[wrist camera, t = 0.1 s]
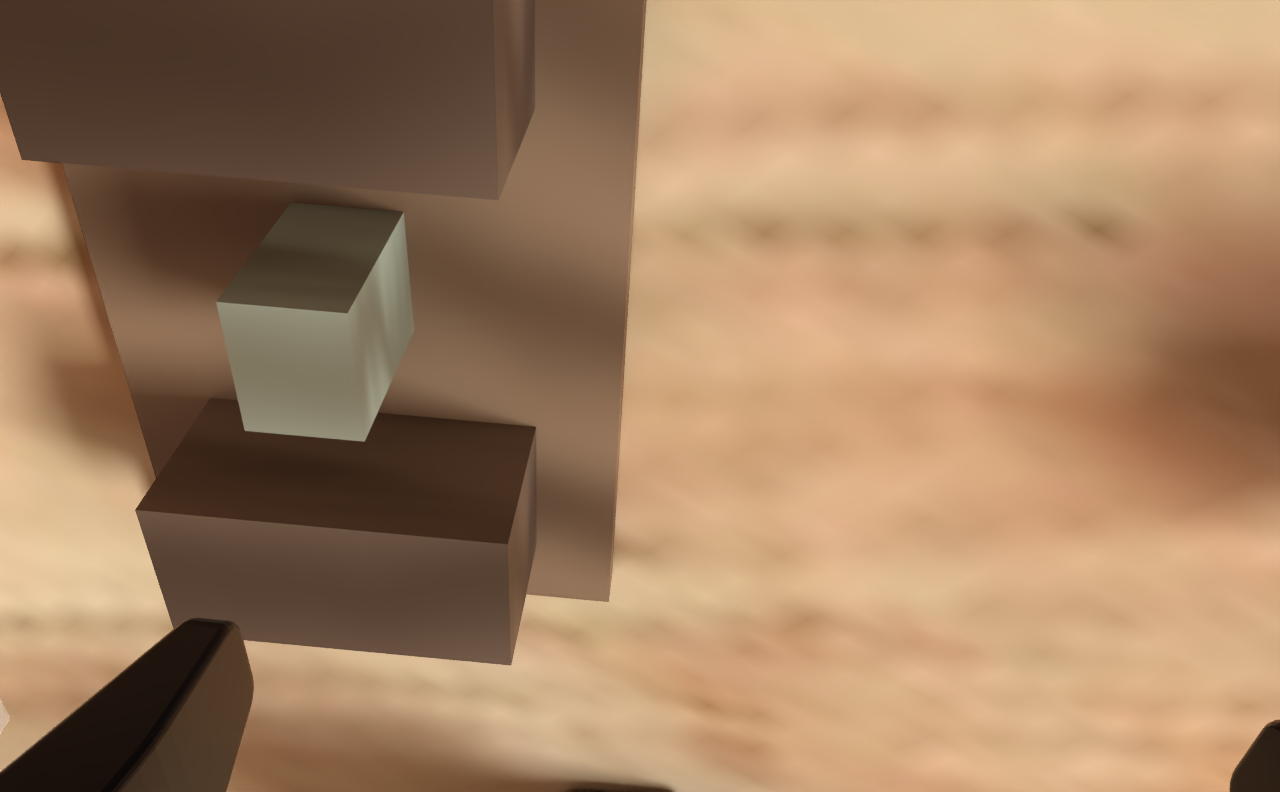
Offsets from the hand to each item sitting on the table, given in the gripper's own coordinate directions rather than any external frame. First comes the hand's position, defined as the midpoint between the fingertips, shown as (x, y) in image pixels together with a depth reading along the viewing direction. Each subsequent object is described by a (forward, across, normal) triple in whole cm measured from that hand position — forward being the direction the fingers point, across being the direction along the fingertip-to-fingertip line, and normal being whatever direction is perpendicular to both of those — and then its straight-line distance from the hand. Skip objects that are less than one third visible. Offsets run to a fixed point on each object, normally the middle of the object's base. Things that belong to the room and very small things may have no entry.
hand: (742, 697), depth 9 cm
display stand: (+15, +8, +4) cm, 17 cm away
